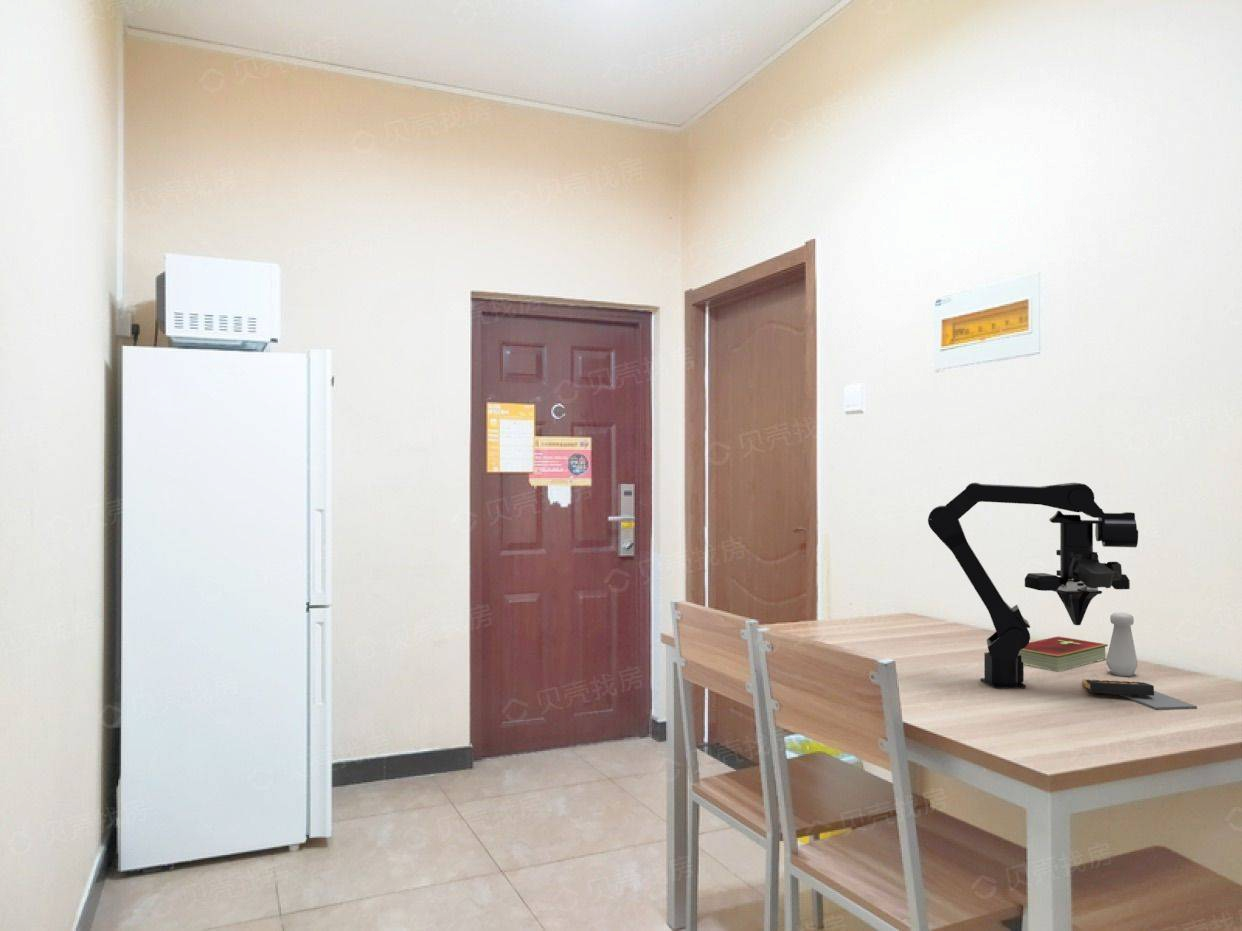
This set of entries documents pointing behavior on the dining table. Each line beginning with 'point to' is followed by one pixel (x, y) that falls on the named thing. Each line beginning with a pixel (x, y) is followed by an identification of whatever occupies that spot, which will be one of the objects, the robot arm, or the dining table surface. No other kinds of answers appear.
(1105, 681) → the ammunition clip
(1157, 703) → the mat
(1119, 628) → the salt shaker
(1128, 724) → the dining table surface
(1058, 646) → the hardcover book
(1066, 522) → the robot arm
